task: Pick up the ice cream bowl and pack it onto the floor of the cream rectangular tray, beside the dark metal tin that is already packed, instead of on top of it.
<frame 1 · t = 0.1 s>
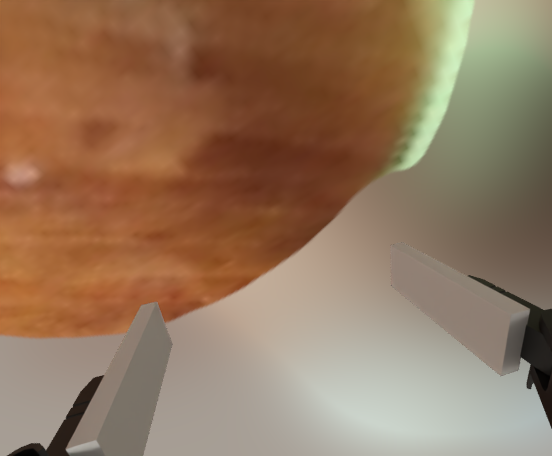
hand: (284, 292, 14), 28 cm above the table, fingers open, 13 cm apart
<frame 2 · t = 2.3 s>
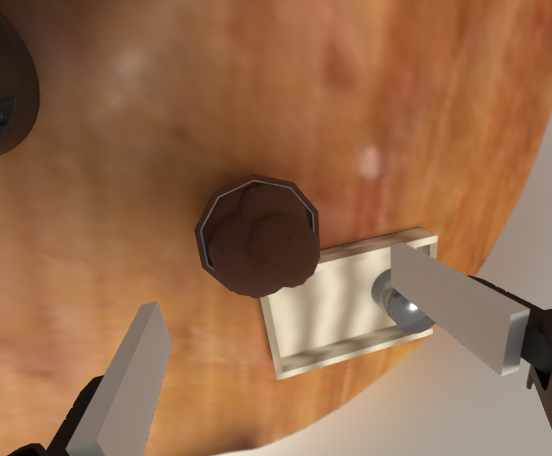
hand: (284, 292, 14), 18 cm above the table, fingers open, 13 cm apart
ice cream bowl: (250, 212, 31), on the table
cream rectangular tray: (343, 295, 37), on the table
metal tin: (391, 287, 37), point 1 cm above the table, touching cream rectangular tray
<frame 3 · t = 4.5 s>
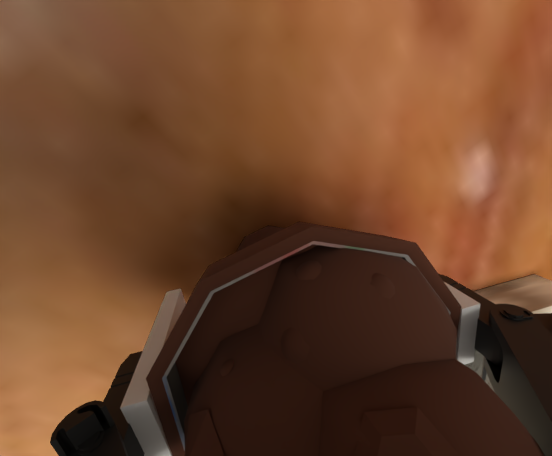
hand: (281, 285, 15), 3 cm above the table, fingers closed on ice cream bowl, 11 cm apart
ice cream bowl: (272, 262, 18), on the table, touching gripper
cream rectangular tray: (413, 379, 24), on the table
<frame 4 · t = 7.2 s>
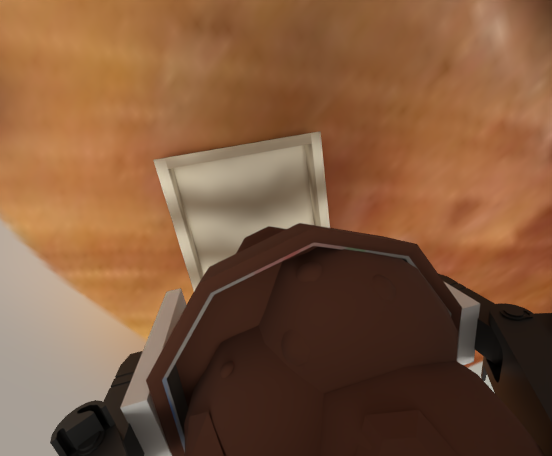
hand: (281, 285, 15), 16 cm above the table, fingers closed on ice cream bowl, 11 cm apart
ice cream bowl: (272, 263, 18), point 13 cm above the table, touching gripper
cream rectangular tray: (258, 246, 31), on the table
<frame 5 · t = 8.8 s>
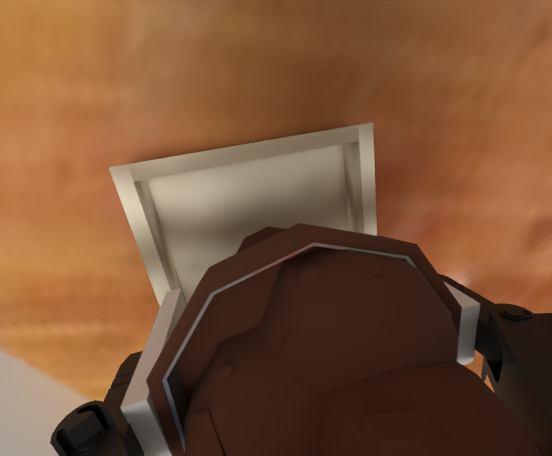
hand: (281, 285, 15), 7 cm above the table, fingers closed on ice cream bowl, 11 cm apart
ice cream bowl: (272, 263, 18), point 4 cm above the table, touching gripper
cream rectangular tray: (272, 286, 22), on the table
when the fingers open (6 cm above the table, at t = 9.9 s): ice cream bowl drops 2 cm, resting on cream rectangular tray.
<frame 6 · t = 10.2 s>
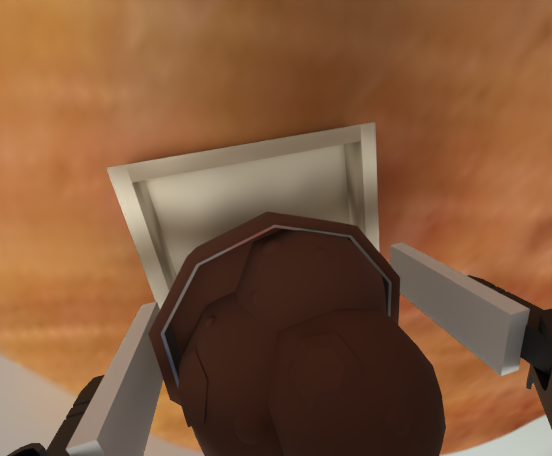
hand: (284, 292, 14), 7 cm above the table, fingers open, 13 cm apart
ice cream bowl: (258, 252, 20), point 1 cm above the table, touching cream rectangular tray
cream rectangular tray: (272, 288, 22), on the table
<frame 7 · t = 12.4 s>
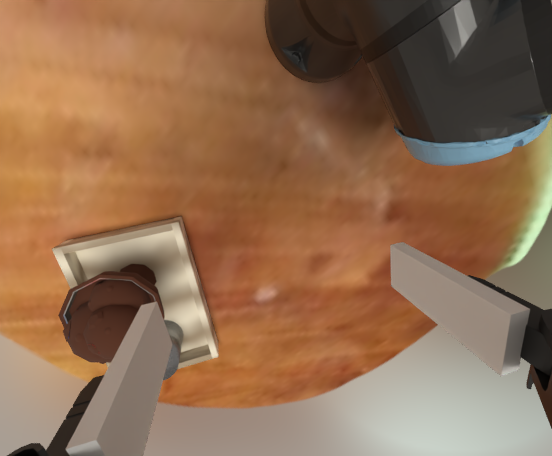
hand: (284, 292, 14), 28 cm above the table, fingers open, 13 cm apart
ice cream bowl: (137, 279, 39), point 1 cm above the table, touching cream rectangular tray
cream rectangular tray: (151, 297, 41), on the table
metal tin: (163, 336, 43), point 1 cm above the table, touching cream rectangular tray
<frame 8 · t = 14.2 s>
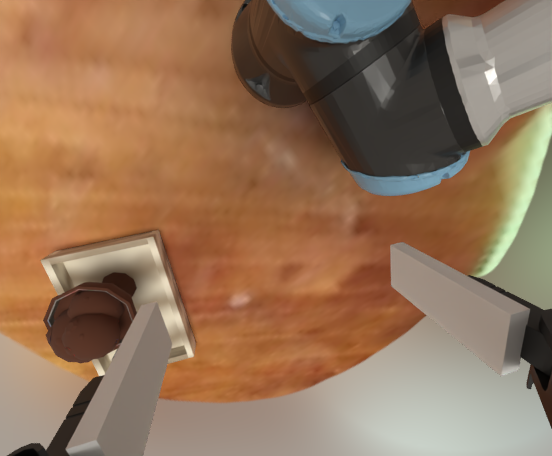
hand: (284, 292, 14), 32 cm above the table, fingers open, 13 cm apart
ice cream bowl: (119, 286, 44), point 1 cm above the table, touching cream rectangular tray
cream rectangular tray: (133, 302, 46), on the table
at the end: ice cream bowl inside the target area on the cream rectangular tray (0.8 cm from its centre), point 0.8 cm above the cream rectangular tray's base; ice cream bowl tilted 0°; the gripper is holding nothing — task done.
